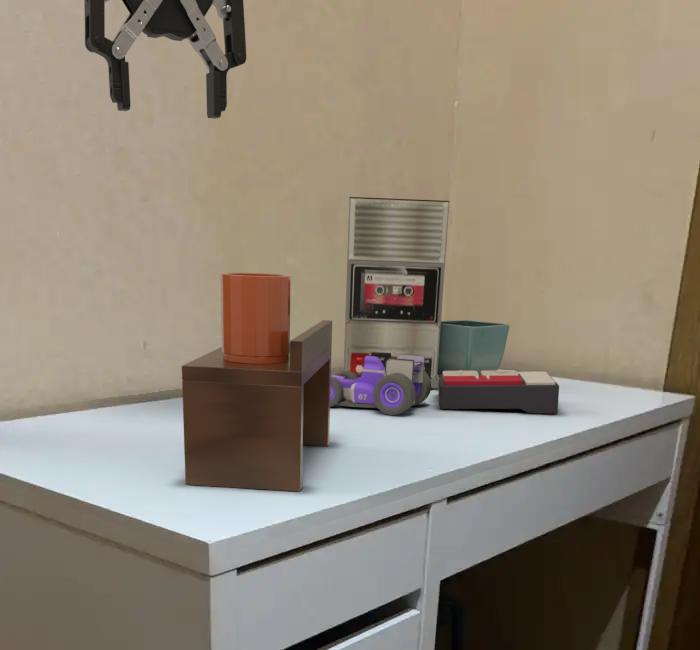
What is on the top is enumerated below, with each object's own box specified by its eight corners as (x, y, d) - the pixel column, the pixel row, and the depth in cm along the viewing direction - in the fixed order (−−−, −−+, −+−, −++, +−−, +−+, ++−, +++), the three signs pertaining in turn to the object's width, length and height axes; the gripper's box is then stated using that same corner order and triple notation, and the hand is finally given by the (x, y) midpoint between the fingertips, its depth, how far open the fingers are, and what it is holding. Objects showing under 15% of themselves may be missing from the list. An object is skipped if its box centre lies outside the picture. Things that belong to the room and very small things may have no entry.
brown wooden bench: (185, 484, 81) (180, 335, 76) (235, 438, 99) (234, 315, 94) (300, 491, 80) (302, 341, 75) (329, 443, 98) (332, 320, 93)
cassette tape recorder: (342, 386, 135) (348, 196, 125) (342, 380, 140) (348, 198, 131) (437, 390, 135) (451, 200, 126) (433, 383, 141) (446, 202, 131)
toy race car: (324, 395, 127) (325, 345, 124) (430, 405, 122) (433, 354, 120) (296, 405, 119) (296, 352, 116) (409, 417, 114) (412, 362, 112)
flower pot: (422, 383, 141) (426, 320, 137) (461, 379, 146) (466, 319, 143) (466, 391, 135) (472, 326, 131) (505, 386, 140) (511, 324, 137)
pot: (215, 362, 79) (213, 274, 77) (230, 354, 85) (229, 272, 82) (282, 365, 79) (283, 277, 76) (293, 357, 84) (294, 274, 82)
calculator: (438, 368, 129) (549, 367, 128) (438, 400, 130) (547, 399, 129) (440, 380, 119) (560, 379, 118) (439, 414, 120) (558, 413, 119)
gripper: (227, -75, 86) (229, 123, 93) (69, -103, 80) (83, 111, 87) (255, -97, 80) (256, 117, 86) (87, -129, 74) (100, 103, 80)
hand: (169, 114), depth 86 cm, fingers open, 8 cm apart
